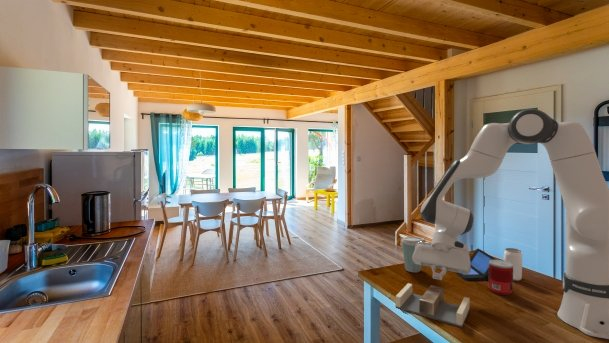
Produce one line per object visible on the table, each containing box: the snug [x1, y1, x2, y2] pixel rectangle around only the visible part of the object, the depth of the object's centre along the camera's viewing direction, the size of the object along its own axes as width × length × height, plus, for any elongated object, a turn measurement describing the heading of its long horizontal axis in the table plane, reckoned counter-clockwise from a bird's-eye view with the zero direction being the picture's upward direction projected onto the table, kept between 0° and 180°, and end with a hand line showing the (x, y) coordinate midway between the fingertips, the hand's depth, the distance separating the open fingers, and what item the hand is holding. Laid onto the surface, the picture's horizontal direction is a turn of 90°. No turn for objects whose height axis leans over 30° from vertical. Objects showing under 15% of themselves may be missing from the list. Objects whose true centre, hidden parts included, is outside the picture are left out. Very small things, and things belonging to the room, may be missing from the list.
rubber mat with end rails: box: [395, 282, 471, 328], centre depth 107 cm, size 21×13×4 cm, turn 53°
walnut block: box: [419, 284, 444, 315], centre depth 109 cm, size 4×4×14 cm
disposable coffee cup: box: [401, 236, 427, 273], centre depth 142 cm, size 11×11×15 cm
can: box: [503, 247, 523, 281], centre depth 132 cm, size 6×6×12 cm
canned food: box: [487, 259, 514, 296], centre depth 120 cm, size 8×8×11 cm
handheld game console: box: [455, 248, 497, 281], centre depth 138 cm, size 16×13×9 cm
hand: (436, 278), depth 114 cm, fingers closed
